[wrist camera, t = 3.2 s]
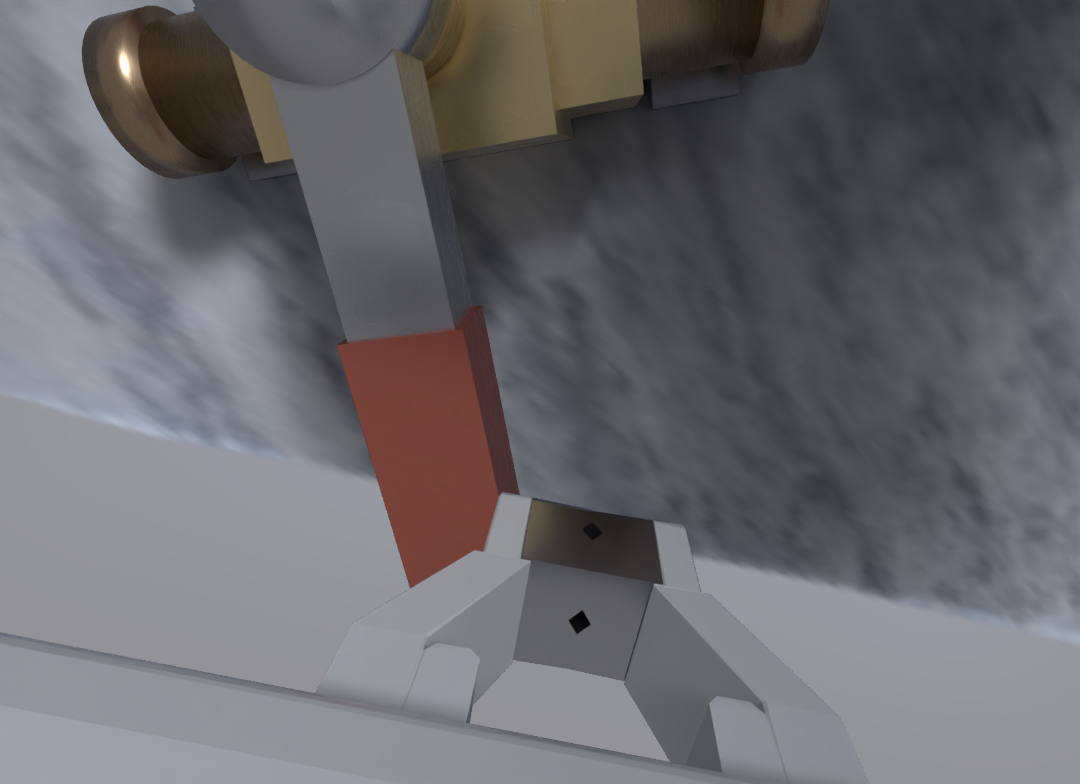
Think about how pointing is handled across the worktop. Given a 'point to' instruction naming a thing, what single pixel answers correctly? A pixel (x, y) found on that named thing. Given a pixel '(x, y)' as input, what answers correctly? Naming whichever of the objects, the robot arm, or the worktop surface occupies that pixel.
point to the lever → (388, 255)
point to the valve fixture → (442, 74)
